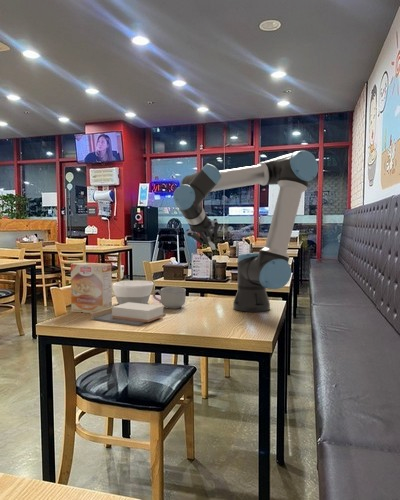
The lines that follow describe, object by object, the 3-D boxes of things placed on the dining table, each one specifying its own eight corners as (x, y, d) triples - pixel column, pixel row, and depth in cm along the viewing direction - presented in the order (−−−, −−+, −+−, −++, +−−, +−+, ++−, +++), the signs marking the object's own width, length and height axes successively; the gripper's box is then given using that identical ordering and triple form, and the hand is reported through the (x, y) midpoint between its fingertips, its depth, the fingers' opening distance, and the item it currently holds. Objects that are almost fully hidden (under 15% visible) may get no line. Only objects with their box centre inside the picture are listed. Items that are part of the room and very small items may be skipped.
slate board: (165, 315, 154) (165, 309, 154) (138, 325, 138) (138, 319, 138) (121, 310, 164) (121, 304, 163) (90, 319, 147) (90, 313, 147)
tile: (163, 305, 150) (128, 302, 157) (148, 310, 141) (112, 306, 148) (163, 316, 150) (128, 312, 157) (148, 322, 141) (112, 317, 148)
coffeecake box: (70, 311, 161) (69, 263, 159) (81, 308, 167) (80, 262, 166) (102, 314, 156) (101, 264, 154) (112, 311, 162) (111, 263, 161)
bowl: (106, 307, 169) (106, 285, 168) (120, 300, 187) (120, 280, 186) (147, 308, 167) (147, 286, 166) (157, 300, 184) (157, 280, 184)
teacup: (187, 305, 174) (187, 286, 174) (184, 310, 163) (184, 291, 163) (156, 304, 176) (155, 286, 175) (150, 309, 165) (150, 290, 164)
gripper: (210, 202, 149) (225, 234, 168) (177, 215, 150) (197, 245, 170) (215, 218, 145) (230, 248, 164) (181, 231, 146) (201, 259, 166)
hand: (213, 246), depth 167 cm, fingers closed
